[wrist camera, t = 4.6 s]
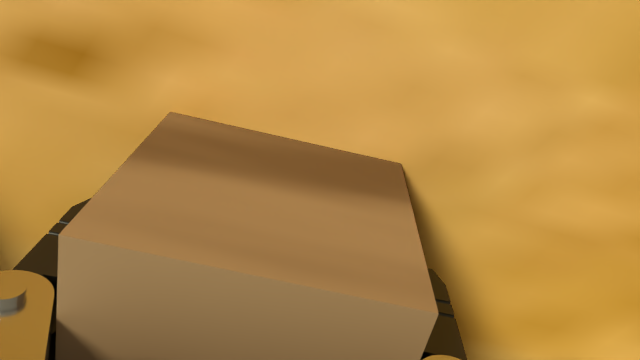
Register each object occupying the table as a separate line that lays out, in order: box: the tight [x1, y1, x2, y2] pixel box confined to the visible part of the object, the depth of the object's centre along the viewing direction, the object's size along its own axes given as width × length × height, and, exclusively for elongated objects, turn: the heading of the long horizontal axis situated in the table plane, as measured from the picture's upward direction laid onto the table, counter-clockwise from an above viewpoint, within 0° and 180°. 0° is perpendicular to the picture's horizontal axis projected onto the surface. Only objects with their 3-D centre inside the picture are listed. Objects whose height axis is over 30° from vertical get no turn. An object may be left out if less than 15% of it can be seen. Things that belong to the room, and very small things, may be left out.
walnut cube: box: [55, 112, 439, 360], centre depth 10 cm, size 5×5×5 cm
